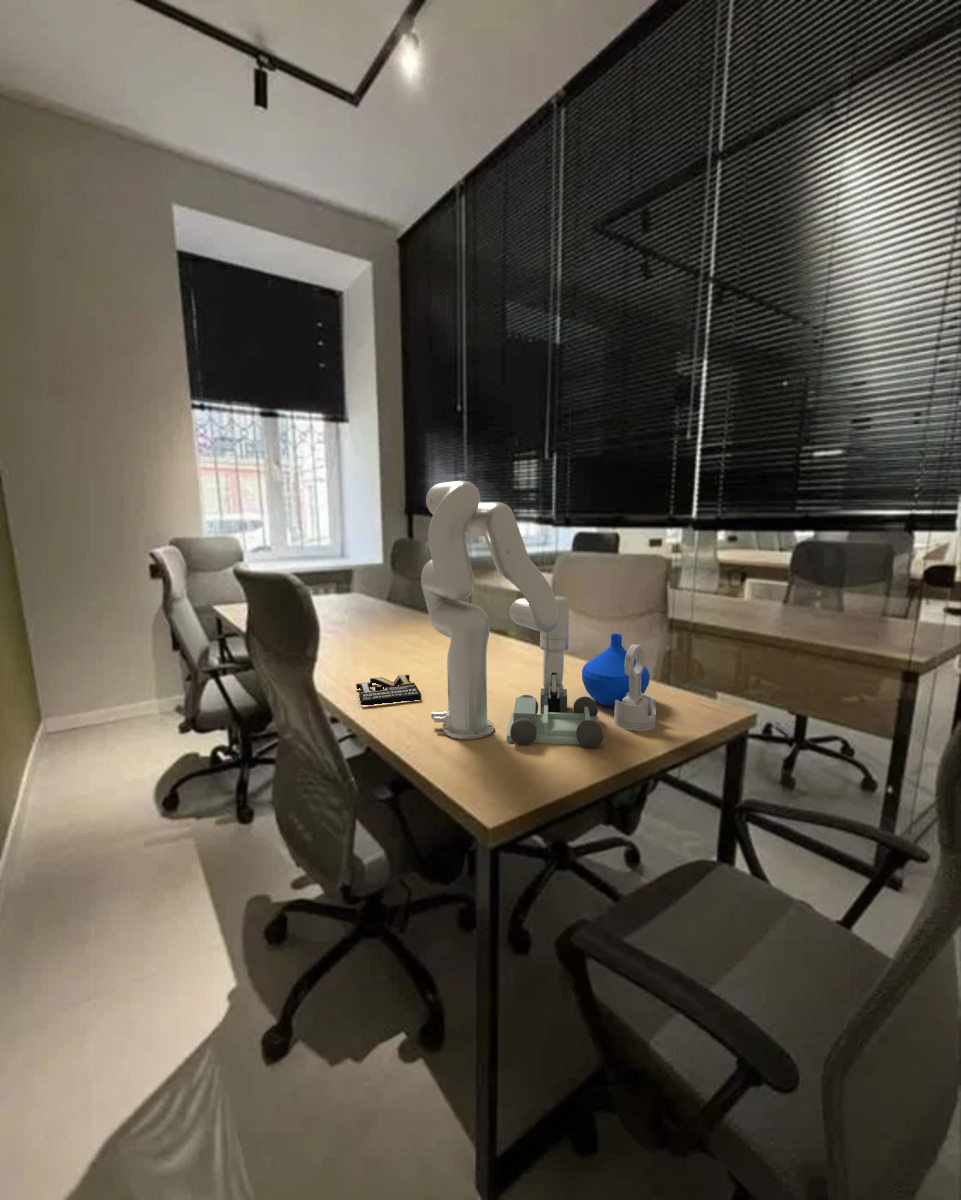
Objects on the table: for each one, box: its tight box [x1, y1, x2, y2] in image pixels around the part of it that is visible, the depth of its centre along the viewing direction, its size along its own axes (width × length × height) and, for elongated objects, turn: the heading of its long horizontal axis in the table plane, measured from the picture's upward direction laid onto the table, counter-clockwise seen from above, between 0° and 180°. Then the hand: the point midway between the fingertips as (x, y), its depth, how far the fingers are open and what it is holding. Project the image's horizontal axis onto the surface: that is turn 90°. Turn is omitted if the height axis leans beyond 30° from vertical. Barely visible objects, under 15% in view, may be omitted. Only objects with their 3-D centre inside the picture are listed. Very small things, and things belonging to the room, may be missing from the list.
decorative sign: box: [355, 674, 422, 706], centre depth 164 cm, size 17×2×20 cm
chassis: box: [506, 694, 605, 749], centre depth 134 cm, size 22×18×6 cm
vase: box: [581, 633, 650, 708], centre depth 153 cm, size 18×18×19 cm
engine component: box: [613, 643, 657, 732], centre depth 137 cm, size 11×20×10 cm
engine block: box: [539, 684, 568, 714], centre depth 148 cm, size 7×6×6 cm
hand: (553, 707), depth 149 cm, fingers closed on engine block, 5 cm apart
